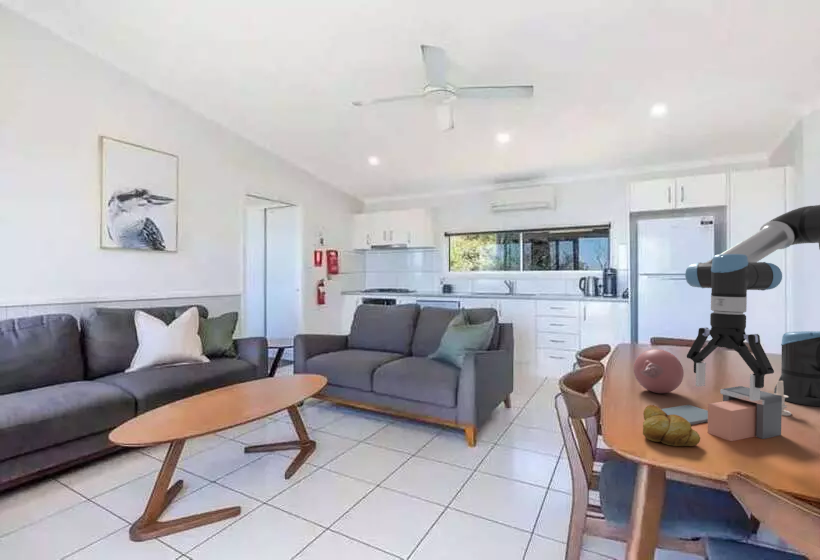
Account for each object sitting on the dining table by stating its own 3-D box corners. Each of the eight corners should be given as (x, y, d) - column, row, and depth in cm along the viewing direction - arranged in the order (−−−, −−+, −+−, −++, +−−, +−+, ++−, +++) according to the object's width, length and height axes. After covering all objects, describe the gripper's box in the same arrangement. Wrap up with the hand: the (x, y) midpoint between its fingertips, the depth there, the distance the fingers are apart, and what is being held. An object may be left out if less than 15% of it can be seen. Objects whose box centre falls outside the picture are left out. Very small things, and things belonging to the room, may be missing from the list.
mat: (688, 407, 134) (688, 404, 134) (724, 418, 123) (724, 415, 123) (646, 414, 127) (646, 411, 127) (680, 426, 117) (680, 423, 117)
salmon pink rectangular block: (739, 426, 117) (740, 398, 117) (763, 434, 112) (764, 405, 111) (707, 433, 113) (707, 403, 113) (731, 441, 107) (731, 410, 107)
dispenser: (739, 421, 121) (740, 385, 120) (782, 435, 111) (782, 396, 110) (719, 425, 118) (720, 388, 117) (761, 439, 108) (762, 399, 108)
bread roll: (702, 443, 106) (703, 412, 106) (696, 455, 99) (696, 422, 99) (646, 430, 115) (646, 401, 115) (636, 441, 108) (636, 410, 108)
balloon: (619, 393, 148) (620, 350, 148) (644, 383, 160) (644, 344, 160) (667, 404, 136) (668, 357, 136) (690, 393, 148) (690, 350, 148)
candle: (766, 412, 128) (767, 378, 128) (770, 408, 132) (771, 376, 131) (789, 417, 124) (790, 382, 124) (792, 413, 128) (793, 379, 127)
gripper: (673, 308, 121) (671, 381, 121) (773, 318, 97) (771, 408, 98) (691, 308, 123) (690, 379, 124) (793, 317, 100) (791, 405, 100)
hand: (725, 392), depth 111 cm, fingers open, 13 cm apart
